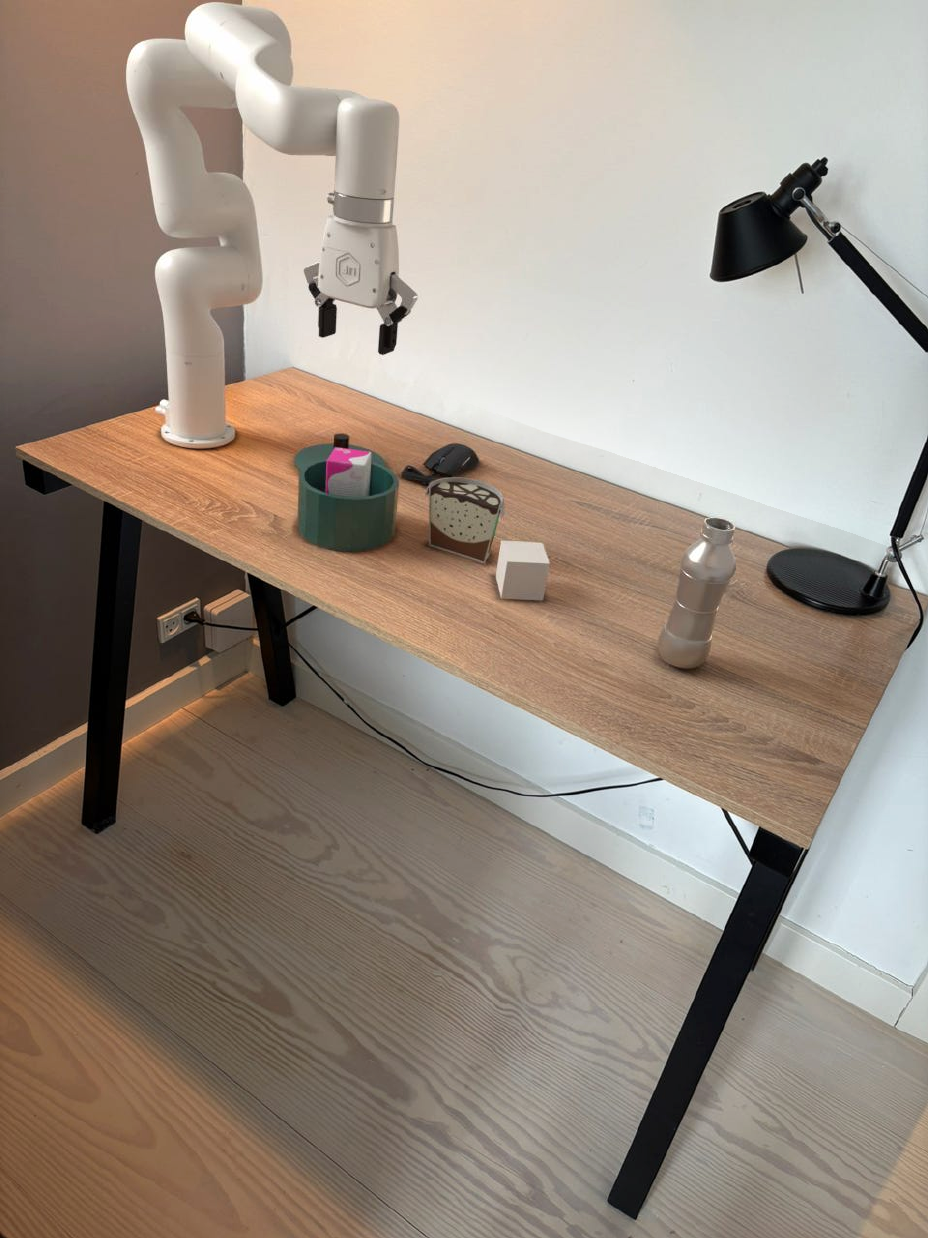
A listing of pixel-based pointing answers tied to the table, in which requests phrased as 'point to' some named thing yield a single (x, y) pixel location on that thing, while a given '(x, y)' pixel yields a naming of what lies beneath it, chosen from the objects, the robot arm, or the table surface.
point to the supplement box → (348, 473)
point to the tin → (347, 510)
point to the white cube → (522, 570)
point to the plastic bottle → (698, 595)
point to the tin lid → (325, 451)
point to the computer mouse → (444, 463)
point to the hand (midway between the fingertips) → (356, 343)
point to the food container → (464, 516)
